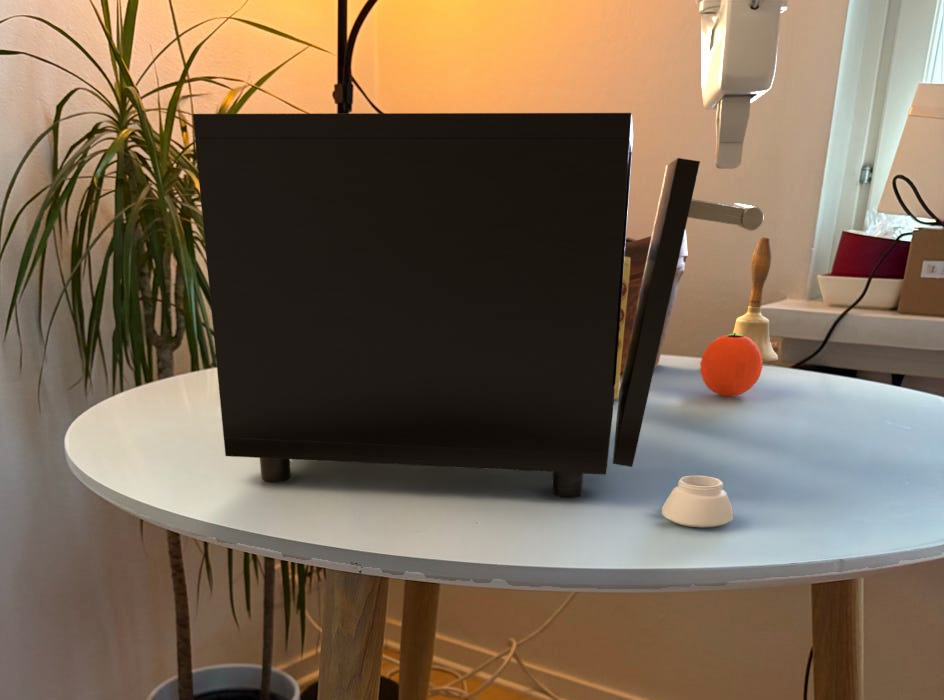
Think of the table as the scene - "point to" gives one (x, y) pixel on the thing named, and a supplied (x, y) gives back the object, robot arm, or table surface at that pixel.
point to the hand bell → (758, 303)
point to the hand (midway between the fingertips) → (727, 168)
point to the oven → (417, 287)
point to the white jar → (698, 503)
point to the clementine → (731, 365)
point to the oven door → (663, 292)
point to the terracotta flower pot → (637, 267)
